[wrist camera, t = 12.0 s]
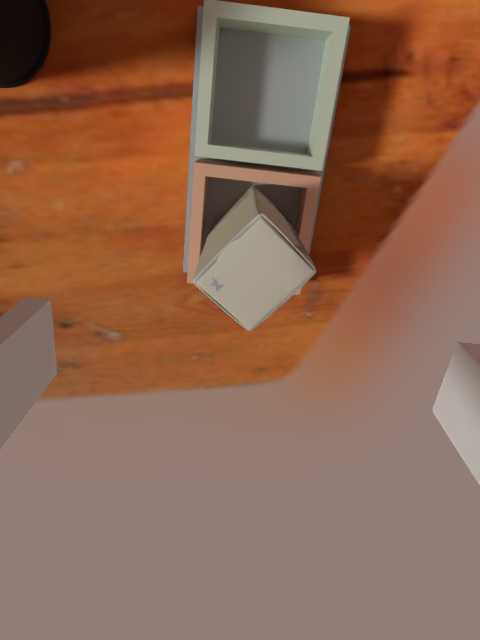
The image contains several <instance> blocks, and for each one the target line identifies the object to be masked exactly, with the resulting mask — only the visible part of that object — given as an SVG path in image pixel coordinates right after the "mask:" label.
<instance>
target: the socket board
mask: <svg viewBox="0 0 480 640" xmlns="http://www.w3.org/2000/svg"><path fill="white" fill-rule="evenodd" d="M349 20H350V17H343V16H335V15H327V14H319V13H312V12H304V11H296V10H288V9H281V8H273V7H265V6H257V5H249V4H242V3H234V2H226V1H218V0H204V7H202V6H198V11H197V29H196V47H195V65H194V83H193V101H192V119H191V137H190V156H189V174H188V192H187V210H186V228H185V246H184V264H183V272H188V274H187V283H192V284H194V283H193V281H192V280H193V277H194V274H195V271H196V268H197V265H198V262H199V259H200V256H201V254H202V251H203V248H204V245H205V243H206V240H207V237H208V234H209V231H210V229H211V227H212V226H213V225H214V224H215V223H216V222H217V221H218V220H219V219H220V218H221V217H222V216H223V215H224V214H225V212H226V211H227V210H228V209H229V208H230V207H231V206H232V205H233V204H234V203H235V202H236V201H237V200H238V199H239V198H240V197H241V196H242V195H243V194H244V193H245V192H246V191H247V190H248V189H249V188H250V187H252V186H254V185H255V186H257V187H258V188H259V189H260V190H261V191H262V192H263V193H264V194H265V195H266V196H267V197H268V198H269V199H270V200H271V201H272V202H273V203H274V204H275V205H276V206H277V207H278V208H279V209H280V211H281V212H282V213H283V214H284V215H285V216H286V217H287V218H288V219H289V221H290V222H291V223H292V225H293V227H294V229H295V231H296V233H297V235H298V236H299V238H300V240H301V242H302V244H303V245H304V247H305V249H306V251H307V252H308V254H310V249H311V243H312V238H313V232H314V227H315V221H316V216H317V210H318V205H319V199H320V194H321V188H322V183H323V177H324V172H325V167H326V161H327V156H328V150H329V145H330V139H331V134H332V128H333V123H334V117H335V112H336V106H337V101H338V95H339V90H340V84H341V79H342V73H343V68H344V63H345V57H346V52H347V46H348V41H349V35H350V30H351V25H349ZM300 292H301V288H300V289H299V290H298V291H297V292H296V293H294V295H300Z"/></svg>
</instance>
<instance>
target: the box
mask: <svg viewBox="0 0 480 640" xmlns="http://www.w3.org/2000/svg"><path fill="white" fill-rule="evenodd" d="M315 273H316V268H315V266H314V264H313V262H312V260H311V258H310V256H309V254H308V252H307V251H306V249H305V247H304V245H303V244H302V242H301V240H300V238H299V236H298V235H297V233H296V231H295V229H294V227H293V225H292V223H291V222H290V221H289V219H288V218H287V217H286V216H285V215H284V214H283V213H282V212H281V211H280V209H279V208H278V207H277V206H276V205H275V204H274V203H273V202H272V201H271V200H270V199H269V198H268V197H267V196H266V195H265V194H264V193H263V192H262V191H261V190H260V189H259V188H258V187H257V186H255V185H254V186H252V187H250V188H249V189H248V190H247V191H246V192H245V193H244V194H243V195H242V196H241V197H240V198H239V199H238V200H237V201H236V202H235V203H234V204H233V205H232V206H231V207H230V208H229V209H228V210H227V211H226V212H225V214H224V215H223V216H222V217H221V218H220V219H219V220H218V221H217V222H216V223H215V224H214V225H213V226H212V227H211V229H210V231H209V234H208V237H207V240H206V243H205V245H204V248H203V251H202V254H201V256H200V259H199V262H198V265H197V268H196V271H195V274H194V277H193V280H192V281H193V283H194V284H195V285H196V286H197V287H198V288H199V289H200V290H201V291H203V292H204V293H205V294H206V295H207V296H208V297H209V298H210V299H211V300H212V301H214V302H215V303H216V304H217V305H218V306H219V307H221V308H222V309H223V310H224V311H225V312H226V313H227V314H228V315H230V316H231V317H232V318H233V319H234V320H236V321H237V322H238V323H239V324H240V325H242V326H243V327H244V328H245V329H247V330H248V331H251V330H253V329H254V328H256V327H257V326H258V325H259V324H260V323H262V322H263V321H264V320H265V319H266V318H267V317H269V316H270V315H271V314H272V313H273V312H274V311H275V310H277V309H278V308H279V307H280V306H281V305H282V304H284V303H285V302H286V301H287V300H288V299H289V298H290V297H291V296H292V295H293V294H294V293H296V292H297V291H298V290H299V289H300V288H301V287H302V286H303V285H304V284H305V283H306V282H307V281H308V280H309V279H310V278H311V277H312V276H313V275H314V274H315Z"/></svg>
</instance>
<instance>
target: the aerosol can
mask: <svg viewBox="0 0 480 640" xmlns="http://www.w3.org/2000/svg"><path fill="white" fill-rule="evenodd" d="M49 44H50V20H49V13H48V9H47V6H46V3H45V0H0V88H10V87H14V86H18V85H20V84H22V83H24V82H26V81H28V80H29V79H31V78H32V77H33V76H34V75H35V74H36V73H37V72H38V70H39V69H40V67H41V66H42V64H43V63H44V61H45V58H46V55H47V53H48V49H49Z"/></svg>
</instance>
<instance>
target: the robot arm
mask: <svg viewBox="0 0 480 640" xmlns="http://www.w3.org/2000/svg"><path fill="white" fill-rule="evenodd" d="M56 374H57V366H56V355H55V343H54V332H53V320H52V309H51V299H43V298H34V297H25V298H24V299H23V300H21V301H20V302H19V303H18V304H16V305H15V306H14V307H13V308H11V309H10V310H9V311H8V312H6V313H5V314H4V315H3V316H1V317H0V449H1V447H2V446H3V444H4V443H5V442H6V441H7V439H8V438H9V437H10V435H11V434H12V433H13V431H14V430H15V429H16V427H17V426H18V425H19V423H20V422H21V421H22V419H23V418H24V417H25V415H26V414H27V413H28V411H29V410H30V409H31V407H32V406H33V405H34V403H35V402H36V401H37V399H38V398H39V397H40V395H41V394H42V393H43V391H44V390H45V389H46V387H47V386H48V385H49V383H50V382H51V381H52V379H53V378H54V377H55V375H56ZM432 411H433V413H434V414H435V416H436V417H437V419H438V420H439V422H440V424H441V425H442V427H443V429H444V430H445V431H446V433H447V435H448V436H449V438H450V439H451V441H452V443H453V444H454V446H455V447H456V449H457V450H458V452H459V454H460V455H461V457H462V458H463V460H464V461H465V463H466V464H467V466H468V468H469V469H470V471H471V472H472V474H473V475H474V477H475V479H476V480H477V482H478V483H479V485H480V344H471V343H461V342H457V345H456V347H455V350H454V353H453V356H452V358H451V361H450V364H449V367H448V369H447V372H446V374H445V377H444V380H443V383H442V385H441V388H440V391H439V393H438V396H437V399H436V401H435V404H434V407H433V410H432Z"/></svg>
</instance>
